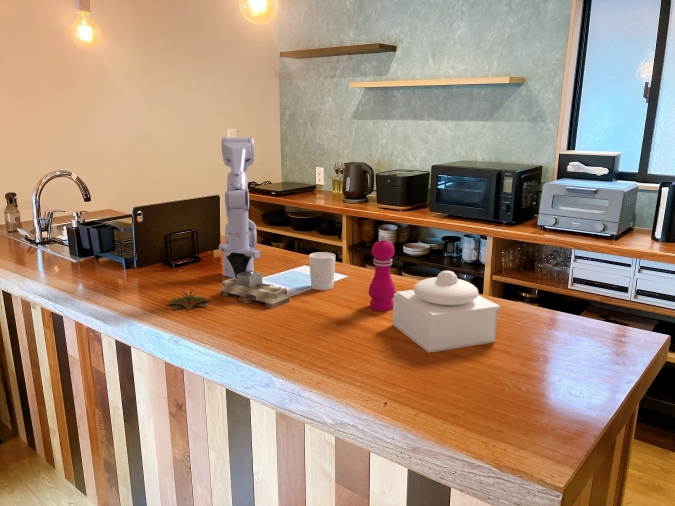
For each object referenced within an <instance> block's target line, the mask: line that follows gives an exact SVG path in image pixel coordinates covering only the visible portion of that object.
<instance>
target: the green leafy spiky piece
mask: <svg viewBox="0 0 675 506" xmlns="http://www.w3.org/2000/svg"><path fill="white" fill-rule="evenodd" d="M194 290H195V288H190V292H189V291H188V294H187V292H186V290H185V289H184V288H183V287H182V288H181V289H180V290H179V291H180V292H182V293H183V294H181V295H180V296H182V298H181V297H178V298H172V301H171V302H169V303H168V304H167V306H168V305H173V306H172V310H177V309H181V308H182V309H183V308H186V309H187V310H188V311H190V310H191V309H192V308H193V307H195V306H197V307H203V308H205V307H207V306H206V304H205V303H204V302H209V300H208V299H206V298H205V297H206V296H196V295H197V294H198V293H197V292H196V293H195V291H194ZM184 295H185V296H184Z"/></svg>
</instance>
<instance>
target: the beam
mask: <svg viewBox="0 0 675 506" xmlns="http://www.w3.org/2000/svg"><path fill="white" fill-rule="evenodd" d="M220 295H221V296H225V297H227V296H228V297H229V296H231V295H235V296H236V295H237V296H238V301H239V302H241V303H244V304H248V303H251V302H254V301H258V302H263V303H265V307H266V308H270V309H275V308H276V307H279V306H281V305H285V304H287V303H290V293H289V292H288V289H286V288H282V287H278V286H274V285H271V284H267V283H263V282H262V284H259V285H257V288H256V287H246V286H242V285H238V284H237V279H236V277H235V278H229V279H225V280H223V281H222V285H220Z"/></svg>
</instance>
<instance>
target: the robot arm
mask: <svg viewBox="0 0 675 506" xmlns="http://www.w3.org/2000/svg"><path fill="white" fill-rule="evenodd" d="M221 155H222V159H223V162H224V165H225V166H227V167H229V168H230V170H231V171H230V172H228V174H227V176H226V180H227V181H226V191H225V192H224V204H225V205H224V206H225V212H226V217H227V223H226V225H225V230H224V238H225V240H224V241H225V243H222V244H218V251H219V252H224V253H223V257H222V258H223V259H222V260H223V273H222V274H221V275H222V276H223V277H228V278H230V279H232V278H235V277H236V279H237V274H239V273H242V272H246V271H249V270H250V271H254V272H255V270H254V259H259V258H261V250H259V249H255V248H256V247H257V245H258V242H257V241H258V239H257V238H258V236H257V225H256V224H255V222H254V221H252V220H251V219H249V209H250V192H249V188H248V187H249V186H248V175H247V172H248V168H249V167H251V166H252V165H254V161H255V139H254V138H253V137H252V136H250V137H226V136H222V138H221Z"/></svg>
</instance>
